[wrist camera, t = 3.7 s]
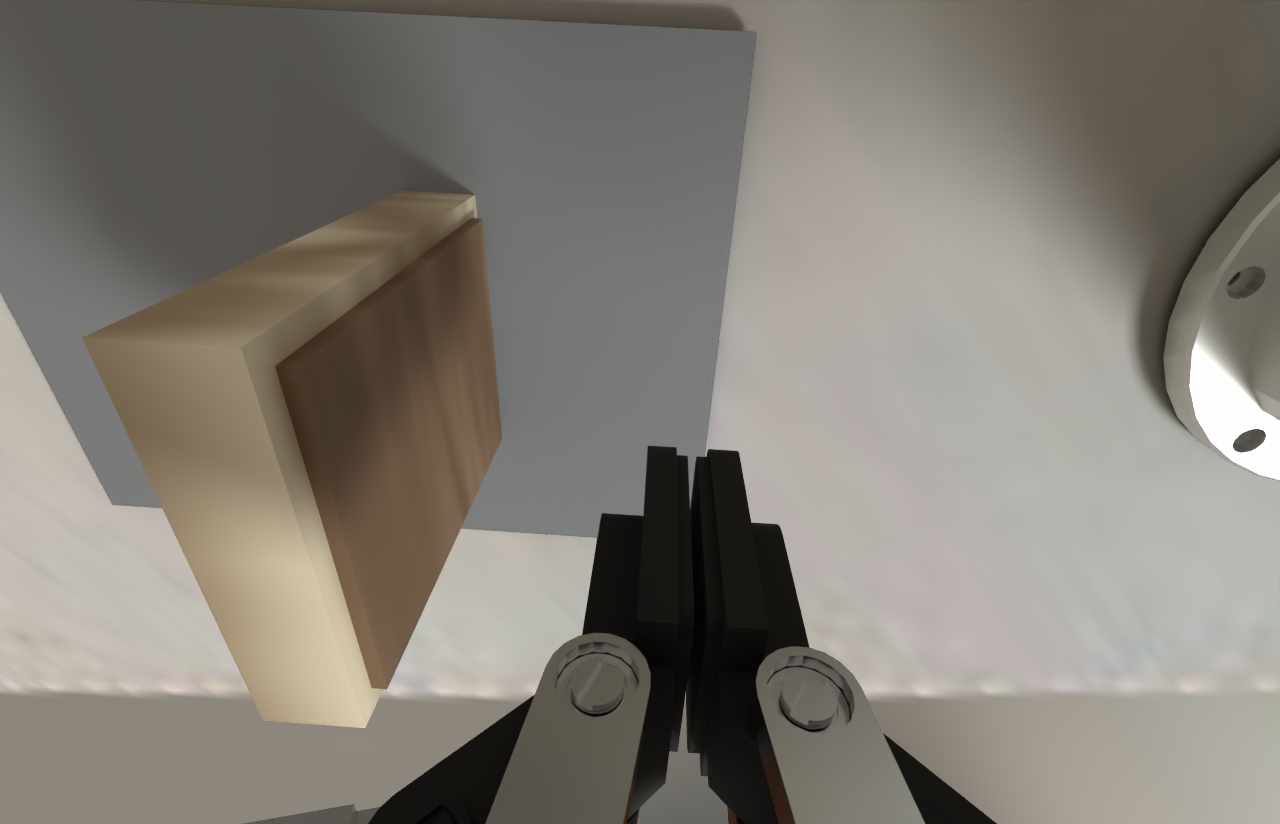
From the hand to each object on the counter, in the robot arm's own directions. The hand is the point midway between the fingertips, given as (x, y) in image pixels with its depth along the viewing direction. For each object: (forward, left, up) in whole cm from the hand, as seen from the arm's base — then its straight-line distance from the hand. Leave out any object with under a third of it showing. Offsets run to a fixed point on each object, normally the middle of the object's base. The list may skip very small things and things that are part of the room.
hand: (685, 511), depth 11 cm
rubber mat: (+10, 0, -8) cm, 13 cm away
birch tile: (+7, 0, -8) cm, 10 cm away
